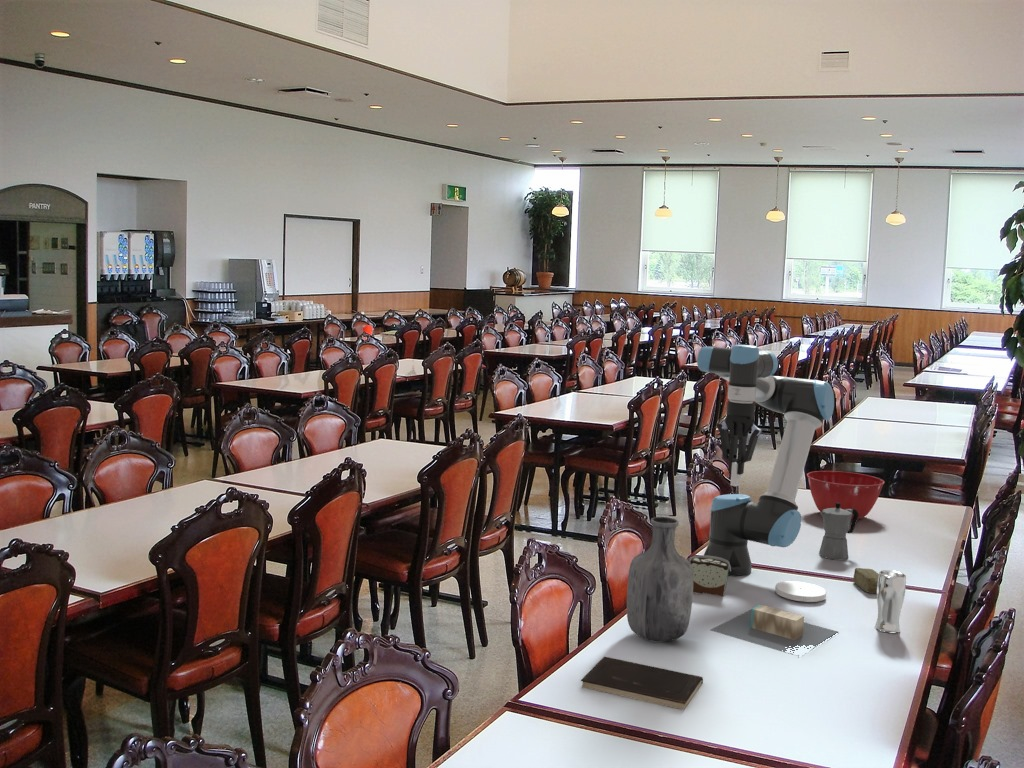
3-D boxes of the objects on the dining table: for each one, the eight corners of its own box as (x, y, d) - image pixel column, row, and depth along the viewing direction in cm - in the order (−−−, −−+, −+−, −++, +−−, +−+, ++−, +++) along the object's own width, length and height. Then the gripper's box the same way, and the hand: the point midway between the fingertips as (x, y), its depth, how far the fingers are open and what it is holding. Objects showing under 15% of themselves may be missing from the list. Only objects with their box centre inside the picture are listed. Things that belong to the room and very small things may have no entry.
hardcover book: (684, 713, 212) (684, 702, 212) (580, 689, 221) (580, 679, 221) (702, 685, 227) (703, 675, 226) (604, 665, 236) (605, 655, 236)
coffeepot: (827, 561, 329) (831, 507, 327) (808, 553, 338) (812, 500, 336) (864, 558, 335) (869, 504, 333) (844, 550, 344) (849, 498, 342)
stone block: (867, 594, 297) (868, 578, 297) (851, 582, 308) (852, 566, 308) (886, 595, 297) (888, 578, 297) (870, 583, 309) (871, 567, 308)
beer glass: (888, 635, 263) (893, 579, 261) (867, 626, 269) (872, 571, 267) (907, 632, 266) (912, 576, 264) (886, 623, 272) (891, 568, 270)
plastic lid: (764, 591, 296) (765, 583, 296) (803, 587, 301) (804, 579, 301) (795, 607, 283) (796, 598, 283) (836, 602, 289) (836, 594, 288)
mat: (709, 631, 259) (709, 629, 259) (752, 610, 278) (753, 608, 278) (798, 658, 244) (798, 656, 244) (838, 633, 263) (838, 631, 263)
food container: (733, 593, 292) (735, 559, 291) (728, 599, 286) (731, 564, 285) (691, 585, 297) (693, 552, 296) (685, 591, 291) (687, 557, 290)
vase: (674, 655, 242) (682, 532, 239) (613, 640, 250) (620, 520, 247) (699, 636, 256) (707, 519, 252) (641, 622, 264) (648, 508, 261)
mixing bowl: (792, 507, 406) (795, 468, 404) (860, 508, 409) (864, 470, 408) (821, 525, 378) (824, 484, 376) (894, 526, 381) (898, 486, 380)
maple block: (751, 608, 262) (796, 620, 254) (760, 604, 266) (804, 616, 258) (750, 627, 262) (794, 640, 255) (759, 622, 266) (802, 635, 259)
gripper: (713, 399, 282) (707, 483, 285) (756, 405, 274) (750, 491, 276) (726, 397, 288) (720, 479, 290) (769, 403, 279) (762, 487, 282)
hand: (735, 485), depth 283 cm, fingers closed
